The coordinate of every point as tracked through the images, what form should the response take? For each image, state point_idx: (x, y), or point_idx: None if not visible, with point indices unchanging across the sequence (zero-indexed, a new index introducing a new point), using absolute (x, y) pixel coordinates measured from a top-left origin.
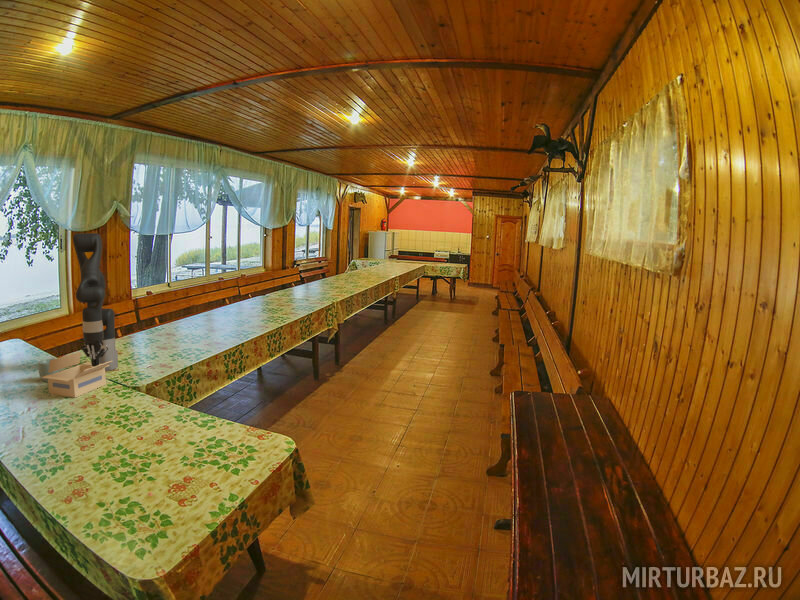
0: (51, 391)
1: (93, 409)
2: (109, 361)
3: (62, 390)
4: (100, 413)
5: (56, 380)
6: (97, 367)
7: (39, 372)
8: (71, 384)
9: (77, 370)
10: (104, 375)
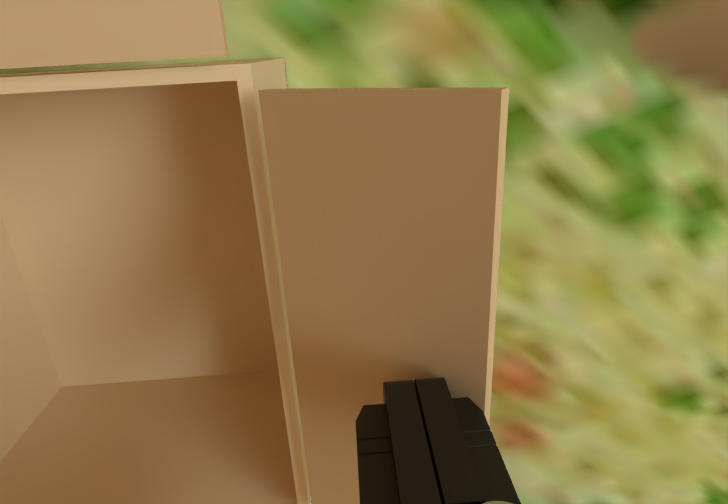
0: (71, 404)
1: (603, 440)
2: (496, 173)
3: (184, 412)
4: (687, 459)
5: (84, 492)
6: (416, 363)
7: None
8: (281, 460)
9: None
10: (269, 74)
